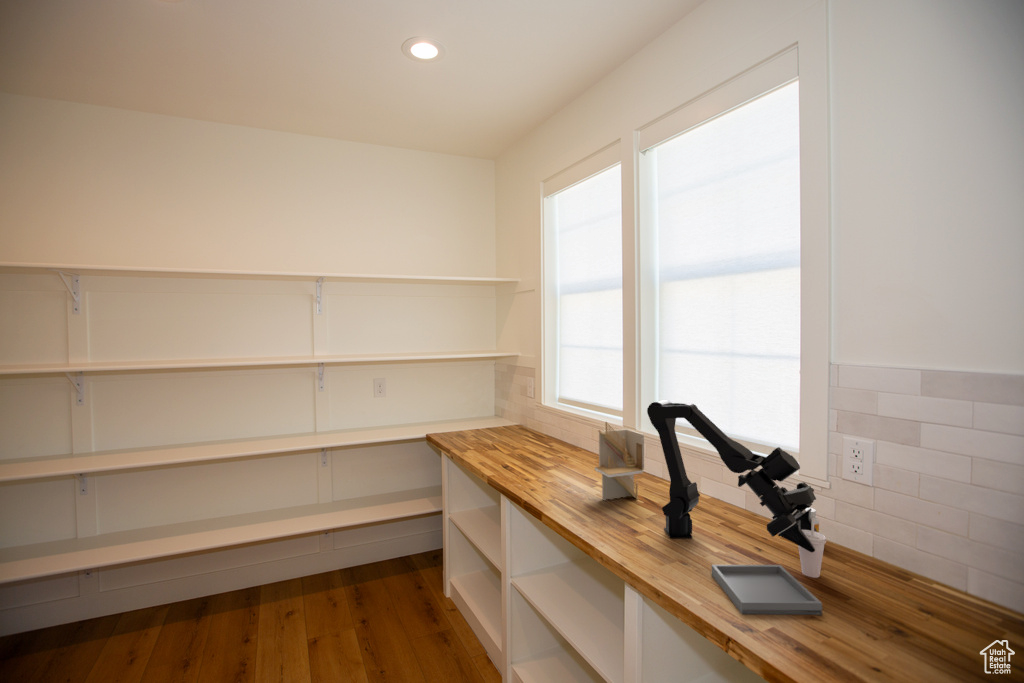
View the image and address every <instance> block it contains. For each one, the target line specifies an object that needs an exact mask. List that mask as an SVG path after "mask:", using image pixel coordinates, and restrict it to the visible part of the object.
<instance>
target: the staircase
mask: <svg viewBox="0 0 1024 683" xmlns="http://www.w3.org/2000/svg"><path fill="white" fill-rule="evenodd" d="M604 424H605V425H604V426H605V430H603V431H601V430H600V429H599V430H598V466H595V467H594V471H596V472H597V473H599V474H601V482H602V483H601V486H602V487H601V488H602V489H601V490H602V491H601V497H602V498H601V500H602V499H603V500H604V501H607V500H606V499H610V500H614V499H613V498H617V499H621V498H620V497H623V498H627V497H626V496H630V497H633V498H635V500H636V499H638V500H639V497H638V496H639V495H638V494H639V493H638V487H639V486H638V485H639V484H638V483H636V482H635V481H634V480H635V478H634V475H636V474H637V475H639V474H643V473H644V472H643V471H644V470H645V434H644V433H642V432H637V431H635V430H632V429H628V428H624V429H623V428H622V429H614V428H613V427H612V426H611V425H610V424H609V423H608V422H607V421H605V423H604ZM603 500H602V501H603Z"/></svg>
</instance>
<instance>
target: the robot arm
mask: <svg viewBox="0 0 1024 683" xmlns="http://www.w3.org/2000/svg"><path fill="white" fill-rule="evenodd" d="M646 410H647V411H646V413H647V415H648V419H649V421H650V423H651V425H652V426H653V427H654V429H655V430H656V431H657V433H658V436H659V441H660V444H661V448H662V452H663V455H664V460H665V463H666V467H667V472H668V476H669V479H670V480H669V481H670V484H669V493H668V494H669V502H668V503H666V504H665V505H664V506H663V507H662V508H661V510H662V513H663V515H664V516H665V527H664V528H663V530H664V532H665V533H666V535H667V536H668V537H669V538H670V539H693V535H692V534H693V520H692V518H691V514H690V513H691V512H692V511H693V509H694V508H695V507H696V506H697V505H698V504H699V501H700V499H699V497H701V494H700V492H699V490H698V484H697V482H695V481H694V482H692V481H691V480H690V479H689V478H688V476H687V471H686V468H685V464H684V460H683V457H682V453H681V448H680V445H679V441H678V437H677V433H676V430H675V429H676V422H677V420H676V419H685V421H687V422H688V423H689V424H690V425H691V426H692V427H693V428H694V429H695V430H696V431H697V432H698V433H699V434H700V435H701V436H702V437H703V438H704V439H706V441H707V442H708V443H710V445H712V447H714V449H716V451H717V453H718V455H719V457H720V459H721V461H722V462H723V464H724V465H725V466H726V468H727V469H728V470H730V471H731V473H734V474H740V475H738V476H737V478H738V482H737V486H738V487H739V488H740V487H743V486H744V485H747V486H748V487H749V488H750V489H751V491H752V492H753V493H754V494H755V495H756V497H758V500H760V502H759V504H760V506H761V507H764V506H765V507H766V508H767V509H768V510H769V511H770V513H771V514H772V515H773V516H772V517H771V518H772V520H770V522H768V523H767V524H766V530H767V532H768V534H770V535H771V537H775V536H778V537H781V538H783V539H786V540H787V541H790V542H792V543H794V545H795V544H796V545H797V546H798V545H799V546H800V547H802V548H804V549H806V550H808V551H810V552H814V551H815V548H814V547H813V545H812V544H811V542H810V541H809V540H808V538H807V537H806V536H805V534H804V533H803V531H802V530H811V518H810V517H811V509H809V510H807V511H806V510H805V509H806V508H809V507H810V508H811V506H813V503H814V502H815V501H816V500H817V497H816V496H815V493H814V492H815V489H814V488H812V486H811V485H808V484H807V483H806V482H805V481H802V482H799V483H798V484H796V488H794V489H792V490H788V489H787V488H786V487H784V486H781V487H780V486H779V485H778V484H777V483H776V482H775V481H777V482H780V483H781V482H783V481H785V480H786V479H787V478H789V477H791V476H792V475H794V474H795V473H797V472H798V471H799V470H800V469H801V466H800V464H799V462H798V461H797V459H796V458H795V457H794V456H793V455H791V454H790V453H788V452H787V451H784V450H783V449H782V448H781V447H776V448H774V449H773V450H772V452H771V453H769V454H768V455H766V456H763V455H760V454H756V453H754V452H753V451H751V450H750V449H749V448H747V447H746V446H744V445H743V444H742V443H740V442H738V441H735V440H733V439H732V438H730V437H729V436H728V435H727V434H726V433H724V432H723V431H722V429H721V428H719V427H718V426H717V424H715V423H714V422H713V421H711V419H709V417H708V416H706V415H705V414H704V413H703V412H702V411H701V410H700V409H699V408H698V406H697V405H696V404H694V403H691V402H690V403H682V402H671V401H669V400H667V399H662V400H658V401H655V402H651V403H650V404H649V405H648V407H647V409H646ZM759 467H761V468H760V469H758V470H756V469H757V468H759ZM746 471H748V472H747V473H746V474H745V475H744V473H745V472H746ZM814 531H816V532H817V530H816V528H815V526H814Z"/></svg>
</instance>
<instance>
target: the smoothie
mask: <svg viewBox="0 0 1024 683" xmlns="http://www.w3.org/2000/svg"><path fill="white" fill-rule="evenodd" d="M802 531H803V533H804V534H805V536H806V537H807V538H808V540H809V541H810V542H811V544H812V545H813V547H814V548H815V551H814V552H810V551H808V550H806V549H804V548H802V547H800V546H799V545H797V546H798V552H799V560H800V568H801V573H802V575H804V576H806V577H809V578H814V579H816V578H817V579H818V578H819V577H820V574H821V571H822V570H821V569H822V563H823V562H822V561H823V558H824V557H823V555H824V549H825V544H826V543H827V537H826V536H825V535H824V534H823V533H821V532H816V531H814V518H811V530H802Z"/></svg>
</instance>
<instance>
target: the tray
mask: <svg viewBox="0 0 1024 683" xmlns="http://www.w3.org/2000/svg"><path fill="white" fill-rule="evenodd" d="M710 575H711V577H713V579H714V580H715V582H716V583H717V584H718V585H719V586H720V587H721V589H722V590H723V592H724V593H725V594H726V596H727V597H728V598H729V600H730V601H731V603H733V605H734V606H735V607H736V609H737V610H738V611H739V613H740V614H741V615H765V616H766V615H771V616H772V615H776V616H777V615H780V616H781V615H782V616H783V615H785V616H787V615H788V616H790V615H791V616H793V615H795V616H796V615H797V616H798V615H799V616H811V615H812V616H823V602H822V601H820V599H818V598H817V597H816V596H815V595H814V594H813V593H812V592H811V591H809V589H807V588H806V587H805V586H804V585H803V584H802V583H801V582H800V581H798V580H797V579H796V578H795V577H794V576H793V575H792V574H791V573H789V571H788V570H786V568H784V567H783V566H782V565H781V564H711V574H710Z"/></svg>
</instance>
